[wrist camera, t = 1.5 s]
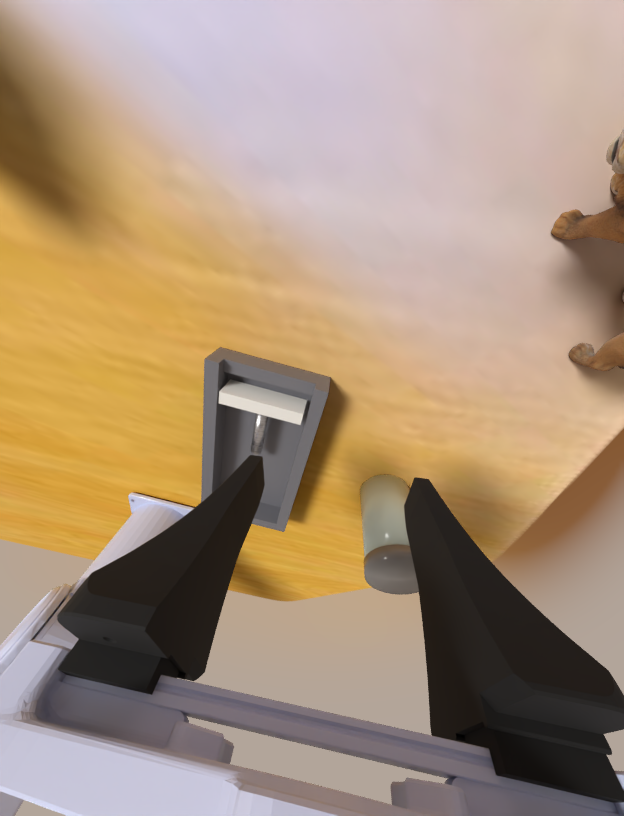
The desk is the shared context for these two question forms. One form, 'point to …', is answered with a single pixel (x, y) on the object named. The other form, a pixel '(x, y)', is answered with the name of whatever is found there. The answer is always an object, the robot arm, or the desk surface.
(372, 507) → the jar
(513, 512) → the desk surface
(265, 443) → the pusher lane
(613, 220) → the lion figurine
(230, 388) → the pusher
